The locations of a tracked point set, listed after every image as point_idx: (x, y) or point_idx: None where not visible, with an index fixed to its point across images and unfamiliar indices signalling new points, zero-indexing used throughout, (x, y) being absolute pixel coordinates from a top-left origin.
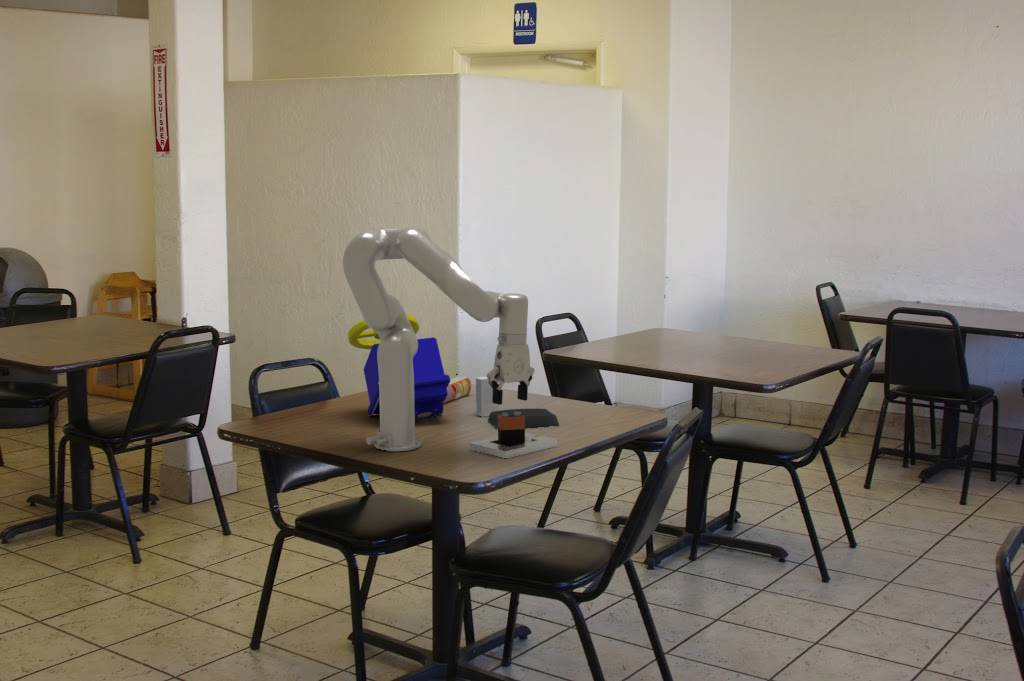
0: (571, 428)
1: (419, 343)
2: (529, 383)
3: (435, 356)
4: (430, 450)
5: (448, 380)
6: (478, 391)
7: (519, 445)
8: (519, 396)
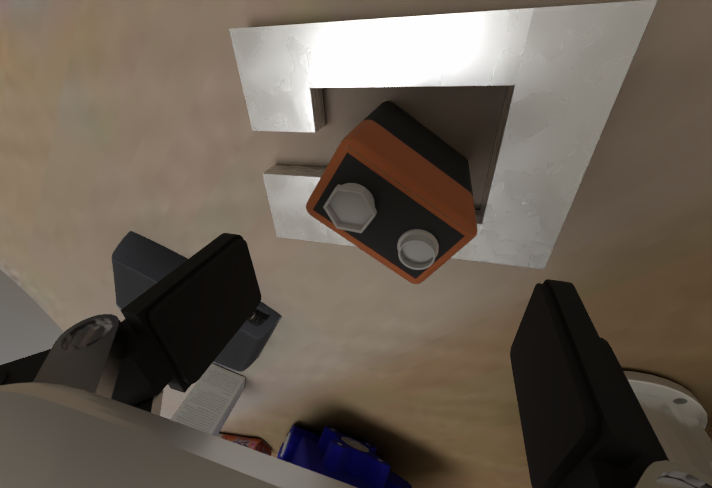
0: (106, 190)
1: None
2: (69, 331)
3: None
4: (610, 336)
5: None
6: (214, 435)
7: (456, 67)
8: (246, 298)
